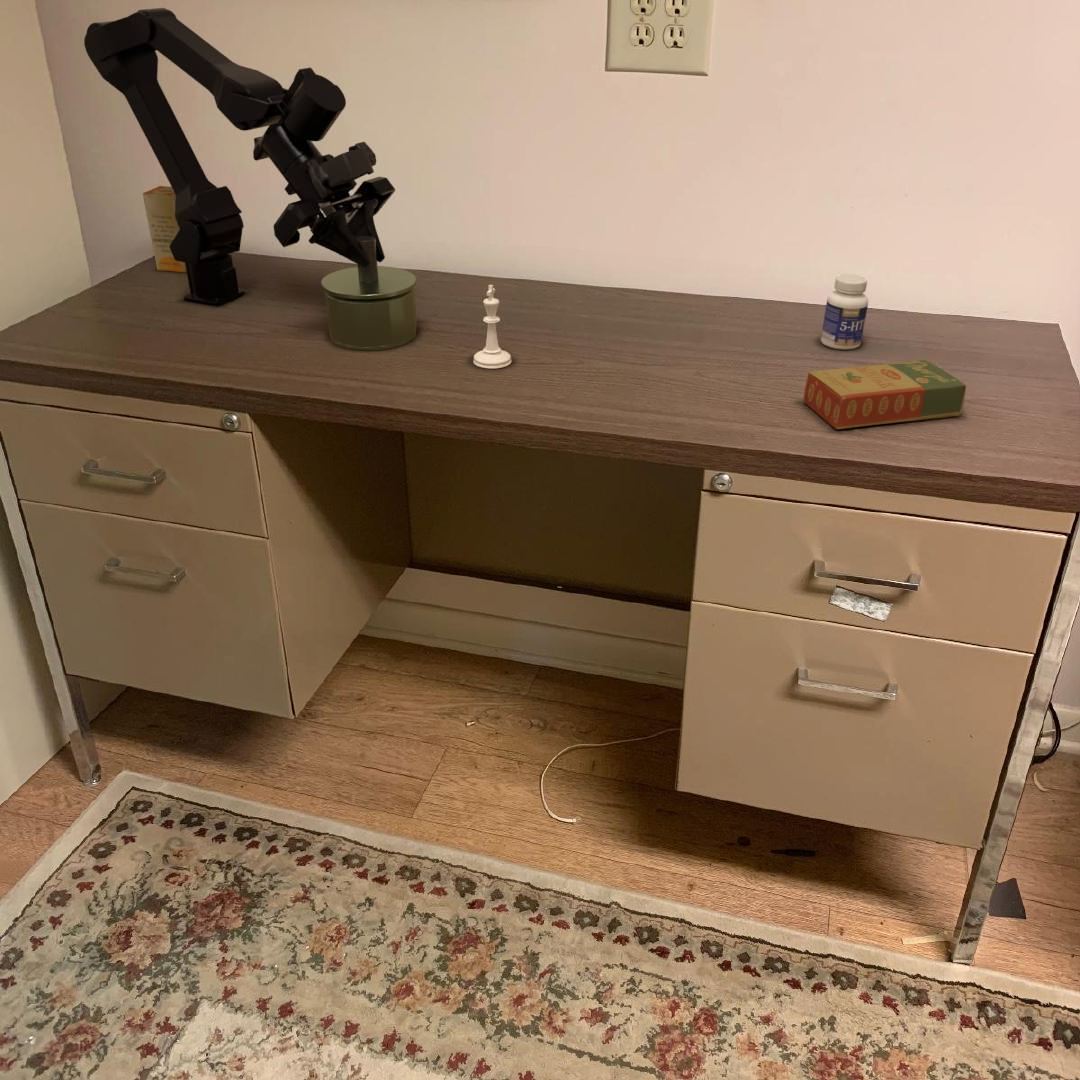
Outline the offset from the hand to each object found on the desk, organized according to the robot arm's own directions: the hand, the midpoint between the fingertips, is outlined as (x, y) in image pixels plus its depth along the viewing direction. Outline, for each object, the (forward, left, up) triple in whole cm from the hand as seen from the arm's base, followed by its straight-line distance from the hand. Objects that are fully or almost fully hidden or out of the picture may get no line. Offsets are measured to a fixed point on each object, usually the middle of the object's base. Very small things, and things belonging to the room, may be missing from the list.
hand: (375, 263), depth 134 cm
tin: (-1, 0, -10) cm, 10 cm away
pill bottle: (+58, +23, -10) cm, 63 cm away
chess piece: (+18, -2, -10) cm, 21 cm away
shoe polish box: (-46, +14, -10) cm, 50 cm away
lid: (-1, 0, -3) cm, 3 cm away
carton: (+66, +3, -10) cm, 66 cm away
